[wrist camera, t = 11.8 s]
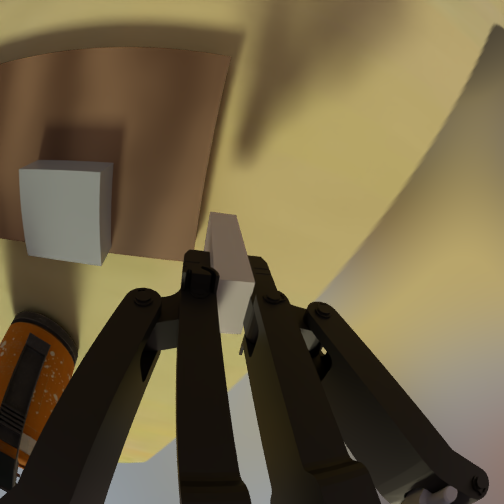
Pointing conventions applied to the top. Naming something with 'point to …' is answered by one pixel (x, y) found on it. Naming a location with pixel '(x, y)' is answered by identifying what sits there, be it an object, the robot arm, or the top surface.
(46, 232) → the tile
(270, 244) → the top surface
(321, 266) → the top surface
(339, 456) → the robot arm
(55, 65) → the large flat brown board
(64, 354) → the canister
